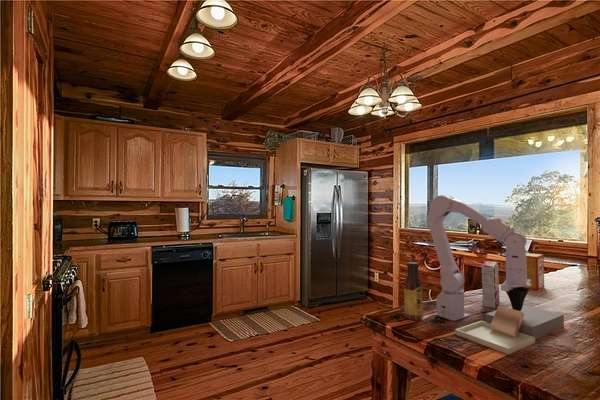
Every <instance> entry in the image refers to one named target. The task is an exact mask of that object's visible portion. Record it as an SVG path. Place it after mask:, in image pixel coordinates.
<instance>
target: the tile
mask: <svg viewBox="0 0 600 400" xmlns="http://www.w3.org/2000/svg"><path fill="white" fill-rule="evenodd" d="M506 307H507V306H506ZM506 307H505V306H501V305H498V306H497V308H496V310H495V311H496V313H495V315H494V317H493V320H492V322H491V325H490V328H491V330H492V331H495V332H498V333H501V334H505V335H508V336H511V337H514V338H516V336H517V334H518V331H519V328H520V326H521V323H522V321H523V318H524V314H523V312H522V311H518V310H514V309H510V308H506Z"/></svg>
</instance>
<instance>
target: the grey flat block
mask: <svg viewBox="0 0 600 400" xmlns="http://www.w3.org/2000/svg"><path fill="white" fill-rule="evenodd" d="M506 308H510V309H512V305H511V304H510V305H508V306H506ZM521 311H522V312H523V314H524V318H523V321H522V323H521V326H520V328H519V331H518V332H520V333H523V334H526V335H529V336H533V337H535V341H536V340H537V339H540V338H542V337H545V336H547V335H548V334H551V333H553V332H555V331H558V330H560V329H563V328H564V327H565V318H564V314H563V313H558V312H555V311H550V310H546V309H542V308H538V307H534V306H530V305H525V304H523V306H522V310H521ZM495 313H496V310H494V311H490V312H487V313H485V322H487V323H491V322H492V320H493V317H494V315H495Z"/></svg>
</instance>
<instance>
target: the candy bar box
mask: <svg viewBox="0 0 600 400" xmlns="http://www.w3.org/2000/svg"><path fill="white" fill-rule="evenodd" d="M480 268H481V292H482V307H483V306H485V307H484V308H489V307H491V308H490V309H497V308H498V306H499V304H500V281H499V262H498V261H492V260H491V261H490V260H488V261H487V260H486V261H484V263H482V265H480Z"/></svg>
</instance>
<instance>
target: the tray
mask: <svg viewBox="0 0 600 400" xmlns="http://www.w3.org/2000/svg"><path fill="white" fill-rule="evenodd" d="M490 325H491V323H487V322H486V321H484V320H479V321H476V322H473V323H469V324H467V325H465V326H461V327H457V328H455V329H454V335H456V336H458V337H460V338H464V339H466V340H469V341H471V342H475V343H476V344H480V345H482V346H485V347H488V348H491V349H493V350H496V351H498V352H500V353H504V354H506V355H511V354H513V353H516V352H518V351H520V350H522V349H524V348H527V347H529V346H531V345H533V344H536V340H535V337H533V336H529V335H526V334H523V333H520V332H518V334H517V336H516V338H514V337H511V336H508V335H505V334H501V333H498V332H495V331H492V330H491V328H490Z"/></svg>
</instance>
